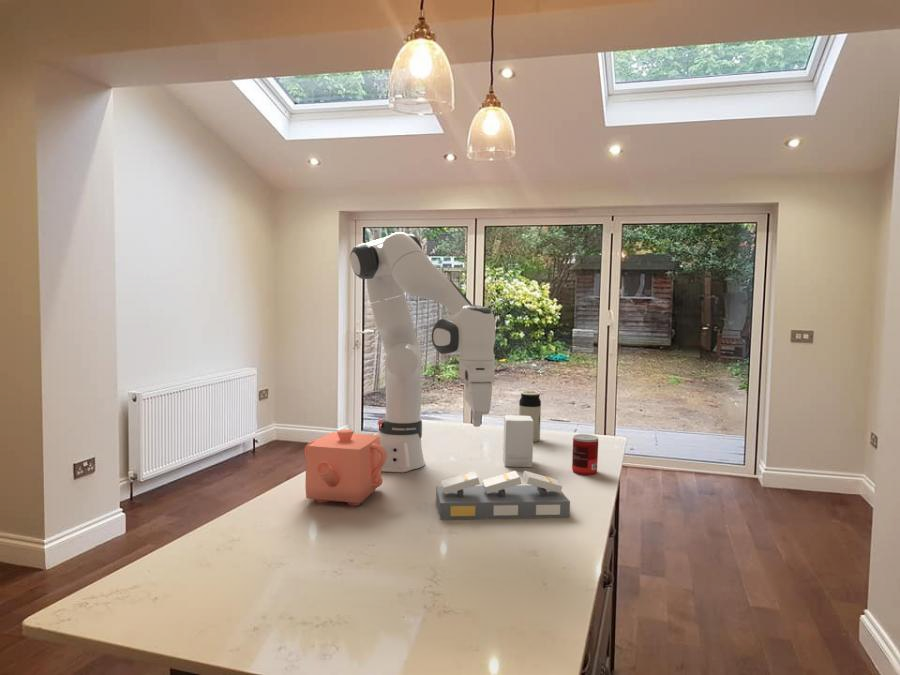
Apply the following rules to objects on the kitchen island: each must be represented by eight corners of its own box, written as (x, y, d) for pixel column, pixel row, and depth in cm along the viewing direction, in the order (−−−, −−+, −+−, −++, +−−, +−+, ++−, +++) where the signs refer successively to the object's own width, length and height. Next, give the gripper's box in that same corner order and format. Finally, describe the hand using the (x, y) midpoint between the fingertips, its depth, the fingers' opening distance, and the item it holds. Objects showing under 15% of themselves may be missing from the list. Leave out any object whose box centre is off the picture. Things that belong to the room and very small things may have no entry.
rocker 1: (444, 494, 156) (442, 487, 155) (443, 487, 161) (441, 480, 161) (479, 484, 156) (477, 476, 156) (476, 477, 162) (474, 470, 162)
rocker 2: (487, 493, 157) (485, 486, 156) (483, 486, 162) (481, 479, 162) (521, 483, 157) (519, 476, 157) (517, 477, 163) (515, 470, 163)
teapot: (365, 521, 150) (365, 447, 148) (277, 513, 154) (277, 441, 153) (395, 489, 174) (396, 426, 173) (318, 483, 179) (318, 421, 177)
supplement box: (532, 467, 199) (534, 420, 197) (504, 467, 199) (505, 420, 198) (529, 460, 208) (531, 415, 207) (502, 459, 208) (503, 414, 207)
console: (440, 519, 152) (440, 496, 152) (436, 501, 165) (436, 480, 165) (569, 517, 155) (570, 495, 155) (555, 499, 168) (556, 479, 168)
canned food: (595, 468, 199) (596, 434, 198) (598, 476, 191) (600, 440, 190) (570, 467, 199) (571, 433, 199) (573, 475, 192) (574, 439, 191)
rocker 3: (526, 483, 157) (529, 476, 157) (522, 477, 163) (524, 469, 163) (560, 493, 159) (562, 485, 158) (554, 486, 164) (556, 479, 164)
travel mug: (515, 440, 234) (516, 392, 233) (522, 436, 241) (524, 389, 240) (535, 443, 231) (536, 394, 229) (542, 439, 238) (544, 391, 236)
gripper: (459, 365, 167) (459, 417, 168) (469, 376, 147) (468, 434, 148) (483, 365, 167) (482, 417, 168) (496, 376, 147) (495, 434, 148)
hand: (476, 425), depth 158 cm, fingers closed
